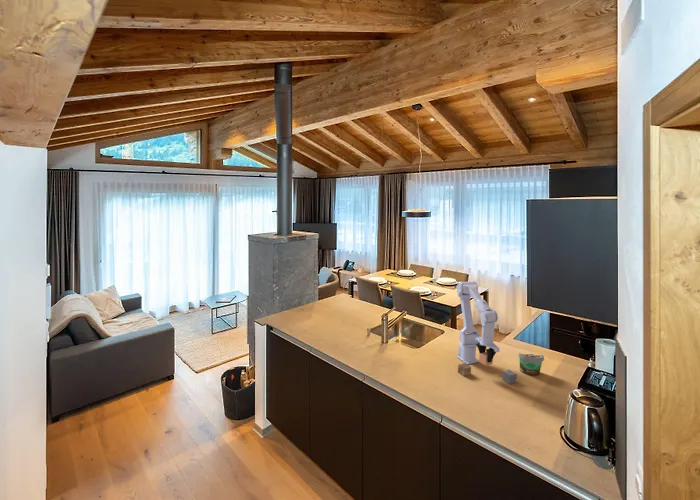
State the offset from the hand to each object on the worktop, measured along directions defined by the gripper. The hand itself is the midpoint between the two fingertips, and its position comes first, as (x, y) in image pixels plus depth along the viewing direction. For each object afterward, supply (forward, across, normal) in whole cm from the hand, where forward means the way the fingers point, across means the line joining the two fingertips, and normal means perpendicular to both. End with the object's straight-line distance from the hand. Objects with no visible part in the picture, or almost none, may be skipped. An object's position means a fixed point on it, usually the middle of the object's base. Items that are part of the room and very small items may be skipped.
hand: (485, 359), depth 177 cm
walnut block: (+9, -6, -8) cm, 13 cm away
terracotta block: (+2, 0, 0) cm, 2 cm away
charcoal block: (+9, +8, +8) cm, 14 cm away
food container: (+9, +7, +24) cm, 27 cm away
